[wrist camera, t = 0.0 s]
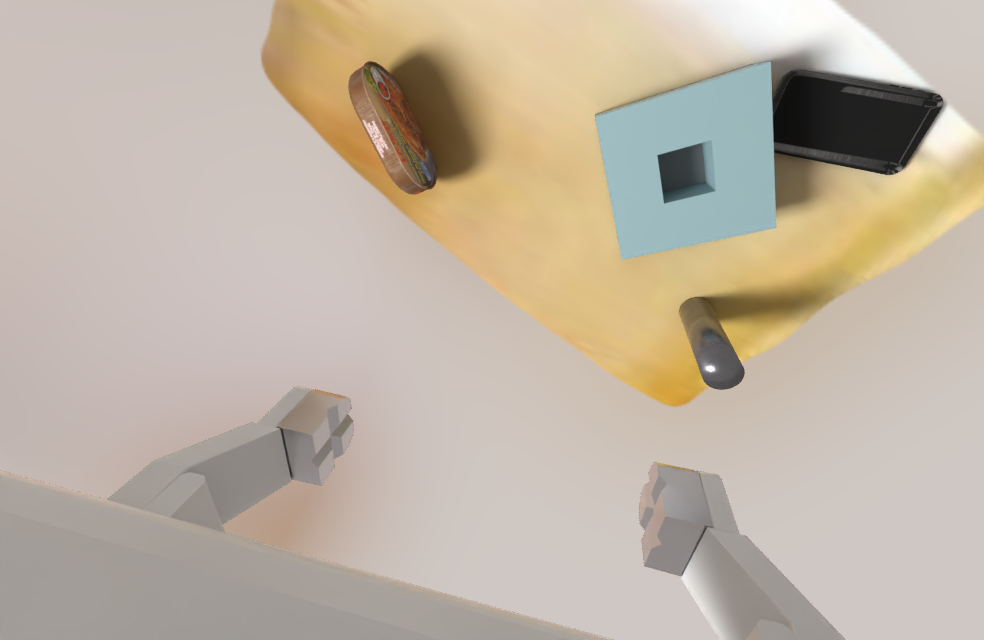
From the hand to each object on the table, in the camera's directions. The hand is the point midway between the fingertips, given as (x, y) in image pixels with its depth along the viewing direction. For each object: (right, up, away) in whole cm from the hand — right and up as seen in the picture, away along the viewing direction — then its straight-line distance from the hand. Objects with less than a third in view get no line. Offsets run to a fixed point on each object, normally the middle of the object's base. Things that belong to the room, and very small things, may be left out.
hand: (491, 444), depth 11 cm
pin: (+28, +5, +47) cm, 54 cm away
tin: (-11, +28, +44) cm, 53 cm away
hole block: (+22, +22, +39) cm, 49 cm away
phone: (+37, +24, +34) cm, 56 cm away
